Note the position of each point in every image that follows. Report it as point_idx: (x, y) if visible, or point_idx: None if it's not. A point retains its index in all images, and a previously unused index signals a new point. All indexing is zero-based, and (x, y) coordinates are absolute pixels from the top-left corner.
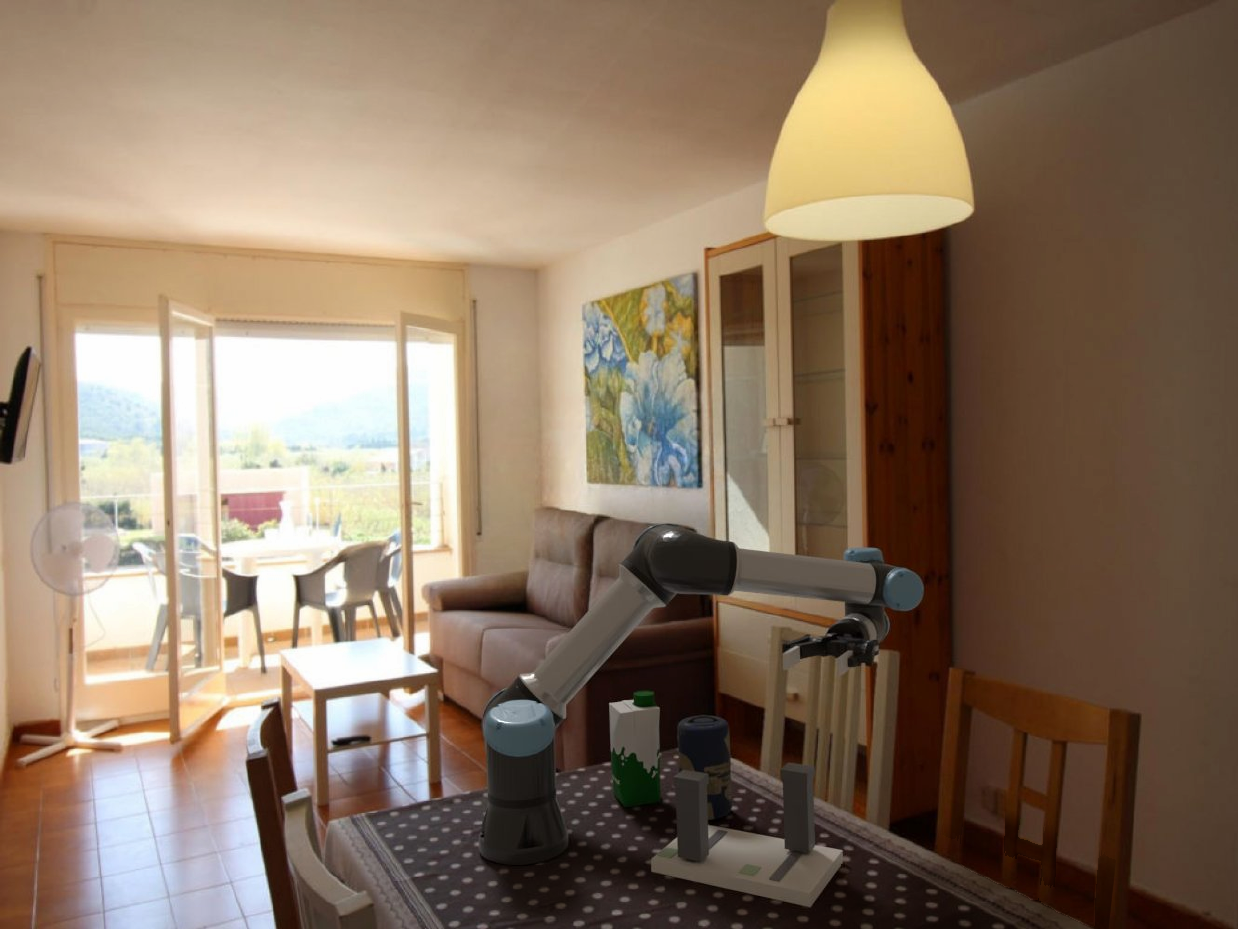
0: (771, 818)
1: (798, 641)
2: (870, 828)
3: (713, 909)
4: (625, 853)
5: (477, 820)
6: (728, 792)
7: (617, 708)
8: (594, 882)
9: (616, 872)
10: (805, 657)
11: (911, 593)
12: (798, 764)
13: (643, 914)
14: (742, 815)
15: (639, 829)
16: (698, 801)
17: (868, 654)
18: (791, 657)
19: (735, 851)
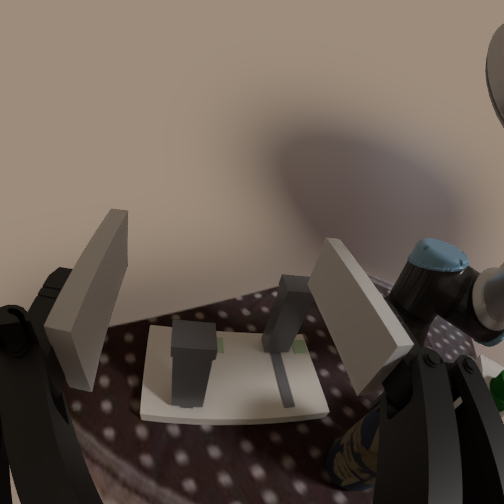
0: (279, 500)
1: (491, 452)
2: None
3: (220, 312)
4: (338, 357)
5: (441, 346)
6: (338, 460)
7: (494, 363)
8: (317, 316)
9: (318, 332)
10: (379, 448)
11: None
12: (198, 346)
13: (259, 296)
14: (316, 487)
15: (368, 397)
16: (277, 294)
17: None
18: (336, 286)
19: (249, 373)
